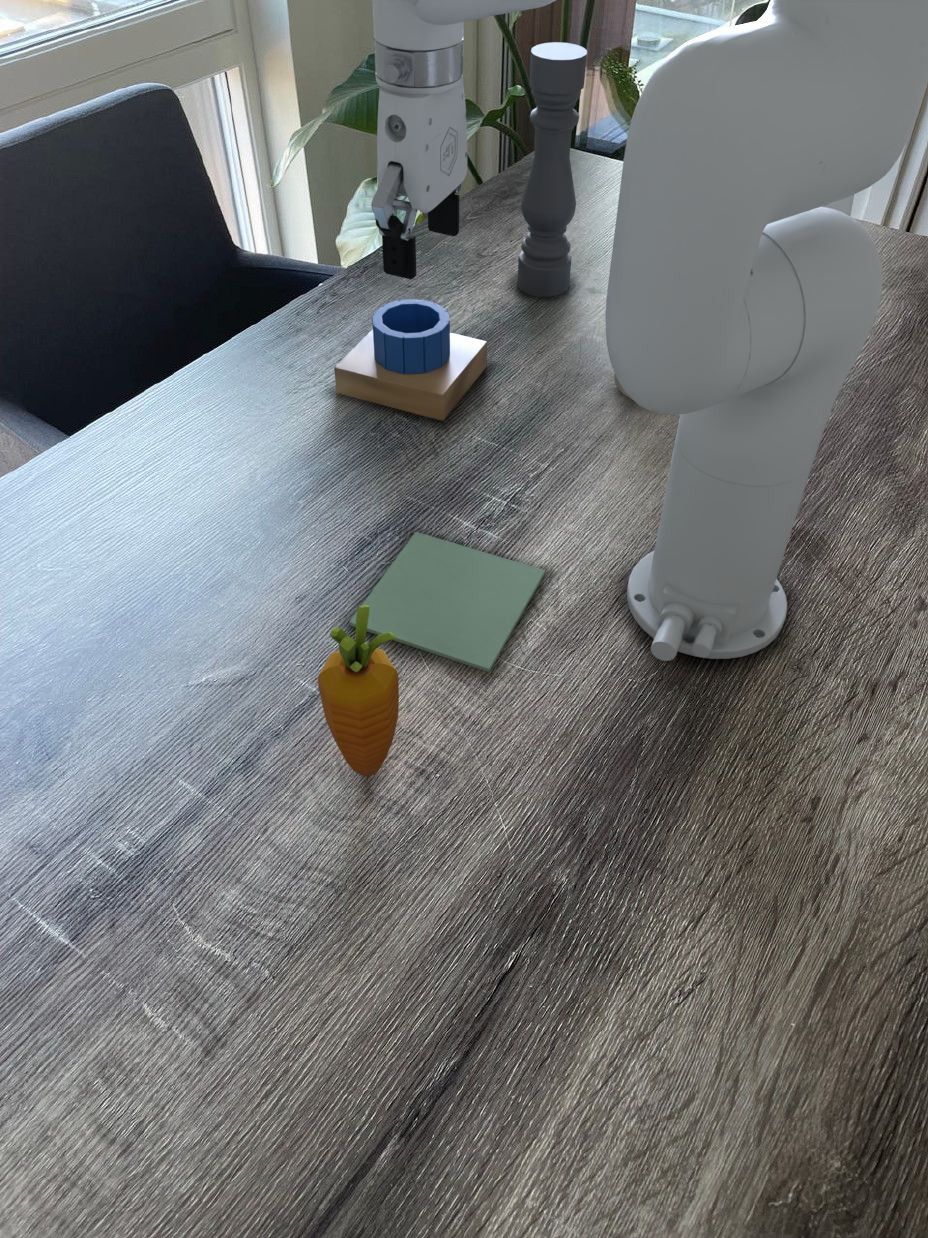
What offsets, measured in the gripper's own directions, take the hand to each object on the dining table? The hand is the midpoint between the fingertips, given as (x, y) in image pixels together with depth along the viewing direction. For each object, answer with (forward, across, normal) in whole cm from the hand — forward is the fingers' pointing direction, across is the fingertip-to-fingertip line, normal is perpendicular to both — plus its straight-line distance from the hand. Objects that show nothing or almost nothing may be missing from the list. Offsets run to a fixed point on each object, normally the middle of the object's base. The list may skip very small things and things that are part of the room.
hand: (422, 253), depth 97 cm
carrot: (+12, -50, -19) cm, 54 cm away
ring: (+9, -4, 0) cm, 10 cm away
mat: (+12, -32, -17) cm, 38 cm away
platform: (+12, -4, 0) cm, 13 cm away
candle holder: (+12, +21, -5) cm, 25 cm away
